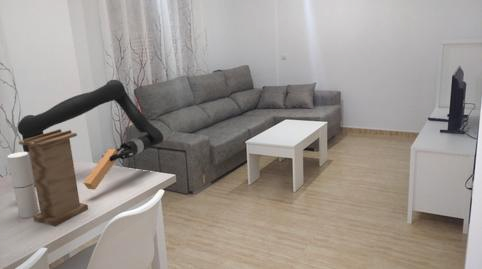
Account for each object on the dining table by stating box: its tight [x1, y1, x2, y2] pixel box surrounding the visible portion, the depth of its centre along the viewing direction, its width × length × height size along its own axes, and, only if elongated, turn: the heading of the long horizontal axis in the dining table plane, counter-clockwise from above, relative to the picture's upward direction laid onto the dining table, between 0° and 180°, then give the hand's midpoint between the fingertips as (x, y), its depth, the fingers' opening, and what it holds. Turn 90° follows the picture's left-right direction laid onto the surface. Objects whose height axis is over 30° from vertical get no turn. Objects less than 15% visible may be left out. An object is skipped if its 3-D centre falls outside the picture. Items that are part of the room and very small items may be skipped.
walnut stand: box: [18, 128, 89, 227], centre depth 158 cm, size 12×16×33 cm
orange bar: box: [82, 148, 118, 191], centre depth 180 cm, size 4×20×4 cm
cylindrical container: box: [7, 151, 40, 219], centre depth 162 cm, size 7×7×25 cm
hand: (106, 158), depth 182 cm, fingers closed on orange bar, 4 cm apart
